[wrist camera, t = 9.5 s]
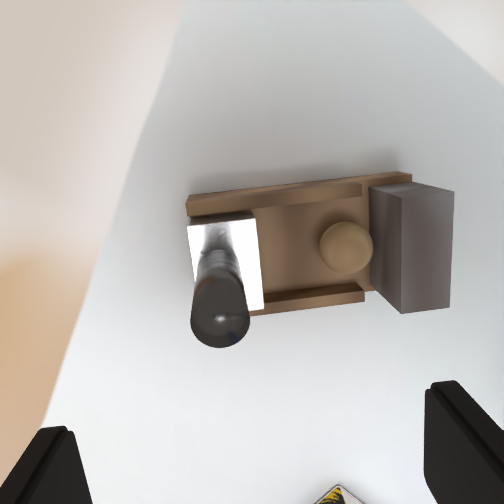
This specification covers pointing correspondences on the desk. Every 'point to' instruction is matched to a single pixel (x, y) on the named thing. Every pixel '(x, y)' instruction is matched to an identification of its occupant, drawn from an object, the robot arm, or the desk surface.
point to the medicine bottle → (339, 497)
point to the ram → (224, 276)
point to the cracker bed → (352, 210)
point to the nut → (346, 247)
